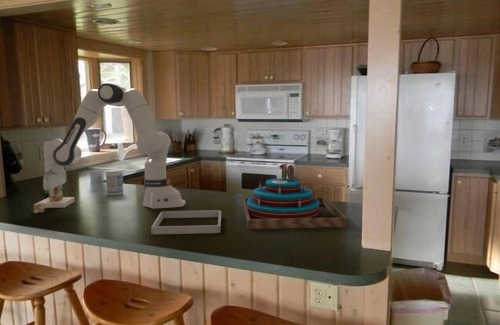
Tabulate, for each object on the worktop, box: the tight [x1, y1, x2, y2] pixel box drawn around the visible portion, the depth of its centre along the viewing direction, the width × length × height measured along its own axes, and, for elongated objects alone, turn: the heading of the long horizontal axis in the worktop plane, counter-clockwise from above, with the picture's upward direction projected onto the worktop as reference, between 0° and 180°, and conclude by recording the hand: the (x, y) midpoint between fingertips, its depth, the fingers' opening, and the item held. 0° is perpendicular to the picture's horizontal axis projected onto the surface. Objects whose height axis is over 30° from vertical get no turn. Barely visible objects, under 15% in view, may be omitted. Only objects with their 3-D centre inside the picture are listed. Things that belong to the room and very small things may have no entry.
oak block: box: [48, 189, 64, 201], centre depth 211 cm, size 5×5×5 cm
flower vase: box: [43, 183, 67, 194], centre depth 235 cm, size 12×12×35 cm
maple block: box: [33, 202, 46, 214], centre depth 196 cm, size 4×4×4 cm
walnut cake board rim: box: [242, 196, 349, 230], centre depth 188 cm, size 43×43×4 cm
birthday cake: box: [247, 162, 320, 219], centre depth 190 cm, size 35×35×24 cm
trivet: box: [37, 196, 76, 209], centre depth 211 cm, size 14×14×2 cm
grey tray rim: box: [150, 210, 222, 235], centre depth 172 cm, size 28×26×3 cm
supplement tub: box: [105, 169, 124, 196], centre depth 238 cm, size 10×10×15 cm
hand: (55, 194), depth 211 cm, fingers open, 7 cm apart
